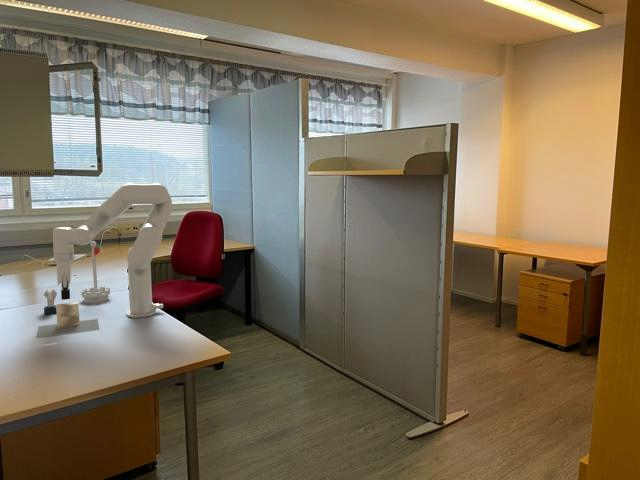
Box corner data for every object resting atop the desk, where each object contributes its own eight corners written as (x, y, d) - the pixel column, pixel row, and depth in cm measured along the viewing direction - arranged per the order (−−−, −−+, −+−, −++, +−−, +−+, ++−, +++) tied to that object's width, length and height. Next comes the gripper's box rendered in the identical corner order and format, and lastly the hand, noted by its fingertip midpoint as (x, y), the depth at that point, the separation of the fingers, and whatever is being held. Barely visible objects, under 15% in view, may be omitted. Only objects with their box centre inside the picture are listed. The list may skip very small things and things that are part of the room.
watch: (59, 310, 216) (57, 287, 215) (58, 314, 209) (56, 290, 207) (45, 311, 214) (43, 288, 212) (43, 316, 206) (42, 292, 205)
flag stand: (76, 301, 231) (72, 241, 227) (99, 295, 243) (95, 238, 239) (93, 304, 225) (89, 243, 221) (116, 298, 237) (113, 240, 233)
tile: (79, 322, 196) (78, 302, 195) (79, 324, 194) (78, 303, 193) (57, 325, 193) (56, 304, 191) (57, 327, 190) (56, 306, 189)
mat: (97, 320, 202) (97, 318, 202) (99, 330, 188) (99, 329, 188) (38, 327, 192) (38, 326, 192) (35, 339, 178) (35, 338, 178)
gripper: (54, 254, 201) (56, 295, 204) (53, 259, 188) (55, 304, 191) (74, 253, 205) (75, 294, 207) (74, 259, 192) (75, 302, 194)
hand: (65, 298), depth 199 cm, fingers closed
